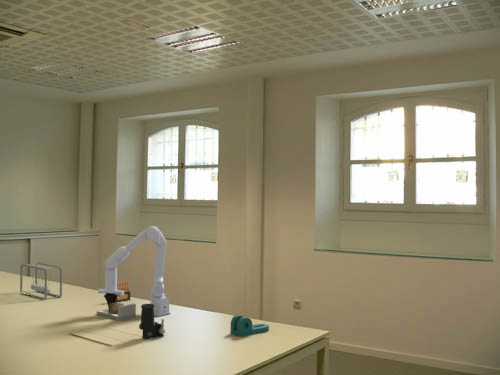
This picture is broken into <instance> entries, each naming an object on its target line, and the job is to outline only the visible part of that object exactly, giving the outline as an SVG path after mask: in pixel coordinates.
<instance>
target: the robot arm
mask: <svg viewBox="0 0 500 375" xmlns="http://www.w3.org/2000/svg"><path fill="white" fill-rule="evenodd" d="M147 240H149V241H152V242H153V243H154V245H156V256H155V257H156V258H155V265H154V266H155V267H154V277H153V283H152V286H151V287H150V293H151V294H150V295H149V296H150V302H149V304H154V308H153V309H154V316H156V317H161V316H165V315H170V314H171V312H170V299H169V298H168V297H166V294H165V293H164V291H165V284H164V273H165V263H166V261H165V260H166V252H167V240H166V238H165V237H164V234H163V232H162V231H161V230H160V229H159V228H158V227H157V226H156V225H155V226H154V225H151V226H149V227H148V228H146V229H145V230H143V231H141V232H140V233H138V235H136V237H134V238H133V239H132V240H131V241H130V242H129V243H128V244H127V245H126V246H119V247H118V248H117V250H116V251H115V252H114V253H112V254H110V257H108V258H107V259H105V261H104V267H105V272H104V273H105V277H104V280H105V281H104V283H105V285H104V288H99V289H97V293H98V294H104V295H103V298H104V299H105V301H106V304H107V309H109V304H112V303H115V300H116V298H117V296H118V295H121V296H122V295H124V291H121V290H117V281H118V269H117V268H118V266H119V264H121V263H122V262H123V261H124V260H126V258H127V257H129V256H130V253H131V252H130V251H132V250H133V249H134V248H135V247H137V245H139V244H140V243H141V242H143V241H147Z"/></svg>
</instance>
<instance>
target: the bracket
mask: <svg viewBox="0 0 500 375" xmlns="http://www.w3.org/2000/svg"><path fill="white" fill-rule="evenodd" d="M269 331H270V325H269V324H267V323H256V324H254V323H253V321H252V319H251V318H250V317H246V316H243V315H239V314H235V315H233V317H232V318H231V320H230V334H231V335H233V336H236V337H239V338H243V337H246V336H253V335H256V334H261V333H267V332H269Z"/></svg>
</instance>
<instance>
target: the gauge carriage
mask: <svg viewBox="0 0 500 375" xmlns="http://www.w3.org/2000/svg"><path fill="white" fill-rule="evenodd" d="M122 305H124V303H122V302H118V303H112V304H109V308H108V309H109V313H114V314H116V313H118V306H122Z"/></svg>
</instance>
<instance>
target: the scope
mask: <svg viewBox="0 0 500 375" xmlns="http://www.w3.org/2000/svg"><path fill="white" fill-rule="evenodd" d="M140 308H141V312H140V314H141V315H140V324H139V325H138V329H139V330H141V331H142V337H141V338H142V340H151V338H152V339H154V337H155V338H164V336H165V335H164V334H165V332H166V331H165V330H166V329H164V327H165V324H164V323H165V319H164V318H161V323H158V322H157V321H155V315H154V309H153V308H154V304H150V303H144V304H141V305H140ZM161 336H162V337H161Z"/></svg>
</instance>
